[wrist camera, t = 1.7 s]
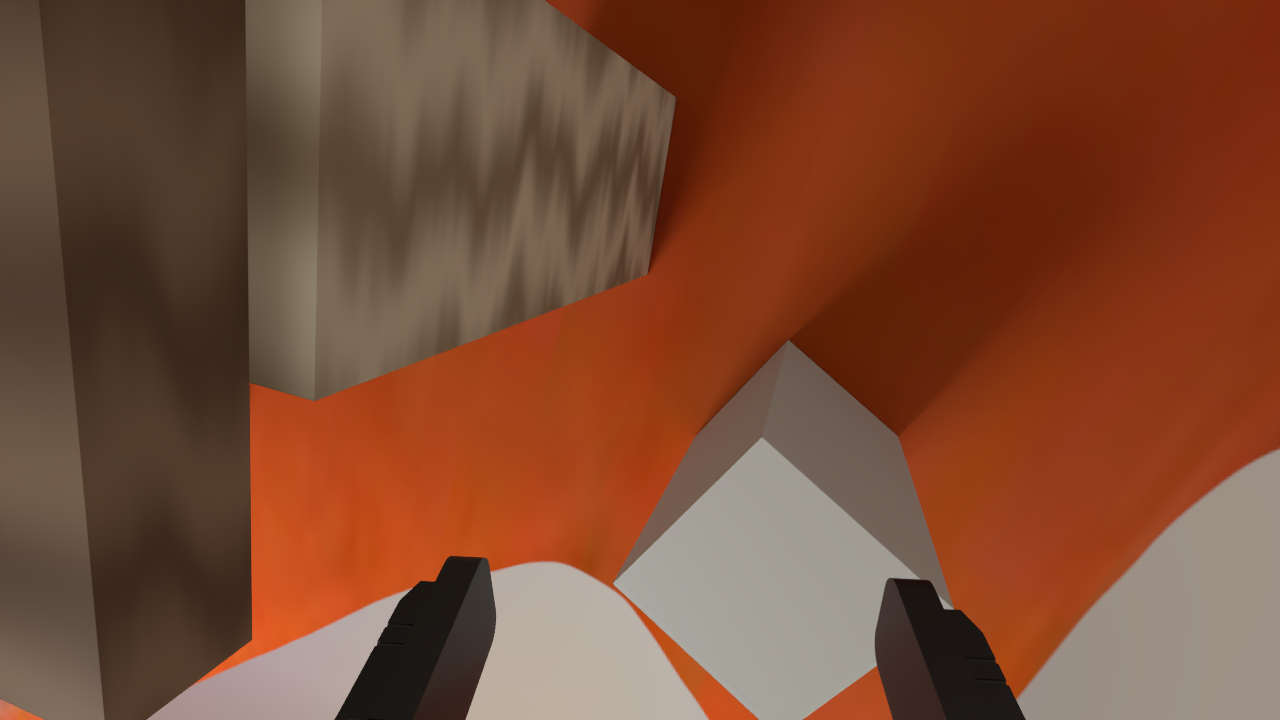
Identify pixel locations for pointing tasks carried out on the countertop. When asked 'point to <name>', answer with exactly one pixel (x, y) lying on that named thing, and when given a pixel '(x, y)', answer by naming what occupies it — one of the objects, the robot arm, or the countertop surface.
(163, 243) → the long wooden bar
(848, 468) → the short block
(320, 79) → the tall stand
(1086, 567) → the countertop surface
